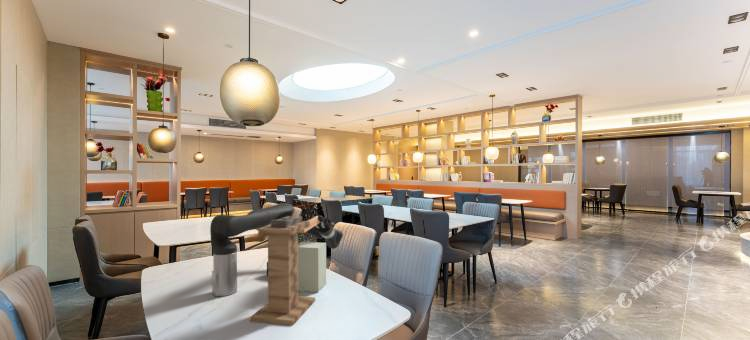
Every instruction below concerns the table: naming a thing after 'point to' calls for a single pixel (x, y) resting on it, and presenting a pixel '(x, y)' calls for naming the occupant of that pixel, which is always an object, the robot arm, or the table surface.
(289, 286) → the stand
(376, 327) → the table surface
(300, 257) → the pedestal
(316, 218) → the block
